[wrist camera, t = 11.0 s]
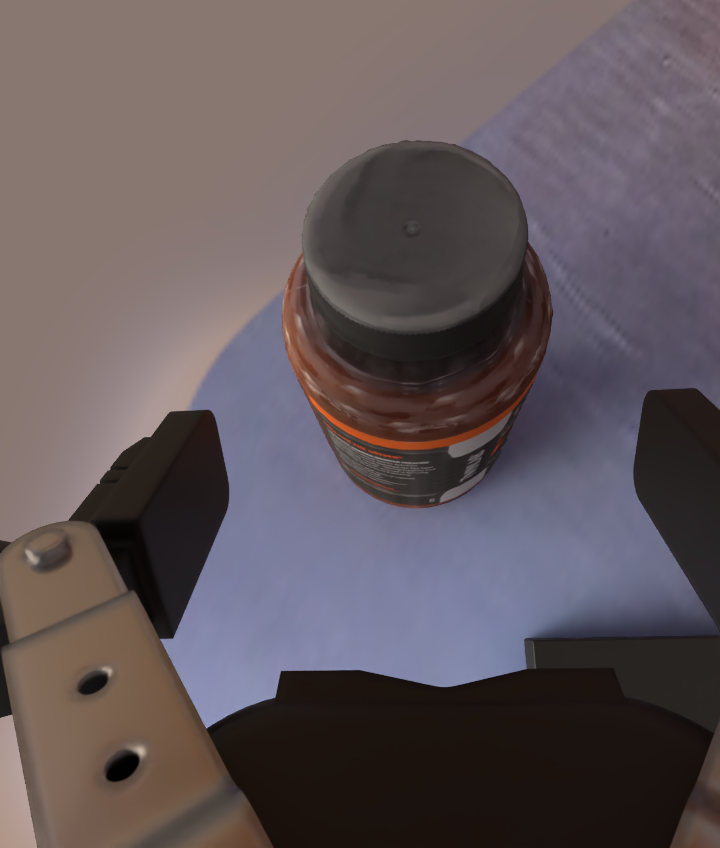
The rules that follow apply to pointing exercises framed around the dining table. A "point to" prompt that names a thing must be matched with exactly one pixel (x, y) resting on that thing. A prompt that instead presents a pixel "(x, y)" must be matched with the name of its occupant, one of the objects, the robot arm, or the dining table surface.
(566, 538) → the dining table surface
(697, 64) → the dining table surface
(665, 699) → the kitchen scale
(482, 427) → the supplement bottle
